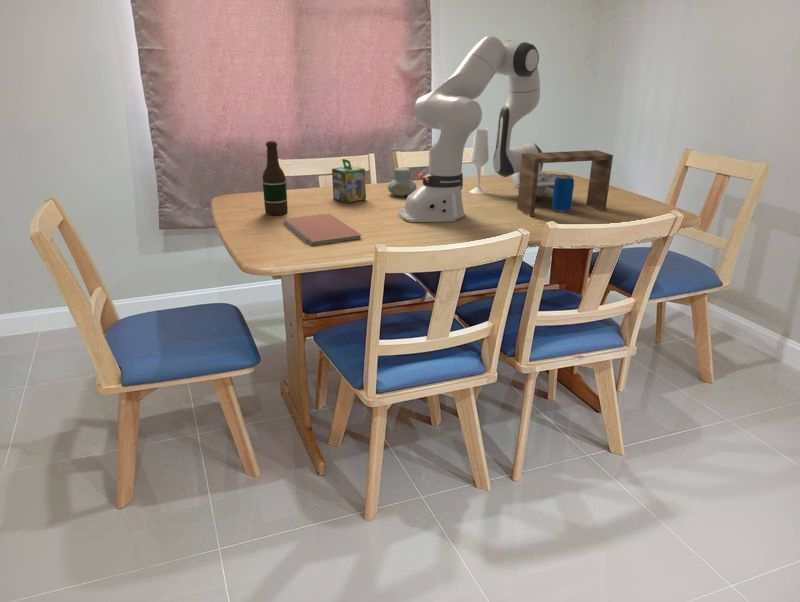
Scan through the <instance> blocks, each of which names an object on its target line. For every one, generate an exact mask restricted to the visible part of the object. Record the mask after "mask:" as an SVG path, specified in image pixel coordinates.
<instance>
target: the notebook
mask: <svg viewBox="0 0 800 602" xmlns="http://www.w3.org/2000/svg"><path fill="white" fill-rule="evenodd" d="M282 224H283V225H284V227H286V228H287V229H288V230H289V231H291V233H293V234H294V235H295V236H296V237H298V238H299V239H300V241H302V242H303V243H305V244H306V245H307V243H308V244H309V245H310V246H317V245H318V246H319V245H324V244H325V245H326V244H332V243H338V242H343V241H344V240H345V241H350V240H351V239H352V240H358V239H361V236H362V234H361V233H359V232H358V231H357V230H355V229H354V228H352V227H351V226H349V225H348V224H346V223H345V222H343V221H342V220H340V219H338V218H337V217H336V216H334V215H333V214H332V213H323V214H321V213H320V214H315V215H305V216H297V217H296V216H295V217H290V218H284V221H283V223H282Z"/></svg>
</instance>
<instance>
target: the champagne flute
mask: <svg viewBox="0 0 800 602" xmlns="http://www.w3.org/2000/svg"><path fill="white" fill-rule="evenodd" d="M471 149H472V150H471V156H470V160H471V162H472V163H473V165H475V167H477V174H476V187H474V188H473V189H471V190H469V193H470V194H473V195H474V194H475V195H484V194H483V193H485V194H487V191H486V190H484V188H482V187H481V172H482V171H481V169H482V167H484V166H485V164H487V163H488V161H489V156H490V155H489V130H488V128H485V127H483V128H482V127H480V128H479V127H477V129H476V130H474V135H473V142H472V148H471Z"/></svg>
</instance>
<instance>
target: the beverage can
mask: <svg viewBox="0 0 800 602" xmlns="http://www.w3.org/2000/svg"><path fill="white" fill-rule="evenodd" d="M573 186H574V187H575V180H574V176H572V175H570V174H568V175H567V174H558V175H557V176H556V179H555V183H554V193H553V195H552V204H551V208H552V210H553V211H554V210H556V211H561V212H560V213H566V212H565V211H568V212H569V211H570V210H571V209H572V202H573V194H574V193H573V192H574V190H573ZM556 211H555V212H556Z"/></svg>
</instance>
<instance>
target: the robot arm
mask: <svg viewBox="0 0 800 602" xmlns="http://www.w3.org/2000/svg"><path fill="white" fill-rule="evenodd" d="M539 61H540V54H539V51H538V49H537V47H536V46H535V45H534V44H532V43H529V42H526V41H524V42H523V41H516V40H511V39H510V40H509V39H501V40H500V39H499V38H498V37H496V36H492V35H487V36H484V37H482V38H481V39H480V40H478V42H476V44H475V45H474V46H473V47H472V48H471V49H470V51H468V53H467V54H466V56H465V57H464V58H463V60H462V61H461V63H460V64H459V65H458V67H457V68H456V70H455V71H454V72H453V73H452V74H451V75H450V76H449V78H447V79H446V80H445V81H444V82H442V83H441V84H440V85H438V86H437V87H436V88H435V89H433V90H432V91H430V92H428V93H426V94H424V95H421V96H419V98H418V99H417V100H416V102H415V104H414V108H413V115H414V118H415V120H416V121H417V122H418V123H419V124H420V125H422V126H424V127H426V128H429V129H433V130H439V131H440V135H439V138H438V140H437V142H436V143H434V144H433V145H431V147H430V148H429V151H428V172H427V173H426V174H424V173H423V172H420V173H419V174H418V179H419V180H421V181H422V184H421V185H420V186H419V187H417V188H416V190H415V191H414V192H412V193H411V194H410V195H409V196H406V200H405V204H404V205H405V206H404V208H400V209H399V210H398V216H399V217H400V218H401V219H403V220H404V221H406V222H410V223H438V222H439V223H440V222H441V223H443V222H444V223H445V222H449V223H451V222H456V221H457V220H458V219H461V218H464V217H465V214H466V213H465V210H464V206H463V205H464V204H463V196H462V190H463V187H464V174H463V171H462V170H463V157H464V149H465V146H466V143H467V141H468V139H469V137H470V136H471V134H472V133H474V132H475V130H476V129H477V128H479V126H480V125H481V122H482V119H483V111H482V107H481V105H480V104H479V102H477V101H476V100H475V99H477V98H478V97H480V96H481V95H482V93H483V92H484V91H485V89H486V88H487V87H488V85H489V83H490V82H491V80H492V79H493V77H494V76H495V74H498V75H503V76H507V77H508V79H507V81H508V82H507V83H508V89H507V90H508V91H507V92H508V94H507V98H506V101H505V104H504V106H503V107H502V108H501V109H500V112H499V116H498V117H499V118H498V123H497V132H496V133H497V134H496V141H495V143H496V144H495V151H494V153H493V159H492V165H493V170H494V172H495V173H496V174H498V175H499V176H501V177H503V178H508V177H510V176H511V180H512V181H513V184H514V188H515V189H518V190H519V181H520V169H521V157H522V154H525V153H543V152H542V149H541V148H540V147H539V146H538V145H537V144H536V143H534V142H528V143H525V144H522V145H521V144H520V145H518V146H517V145H516V146H514V147H511V145H510V144H511V138H512V130H513V128H514V127H515V126H516V124H517V123H518V122H519V121H520V120H522V119H523V118H525V117H527V115H529V114H530V113H532V112H533V111H534V110H535V109H536V107H537V106H538V105H539V104H540V103H539V102H540V97H541V85H540V84H541V81H540V72H539V67H538V65H539ZM510 147H511V148H510ZM543 167H544V163H539V168H538V179H537V190H536V197H543V196H545V195H552V196H553V193H554V183H555V179H556V176H557V175H559V174H556V173H547V172H543V171H542V170H543ZM574 190H575V185H574V186H573V191H574Z"/></svg>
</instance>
